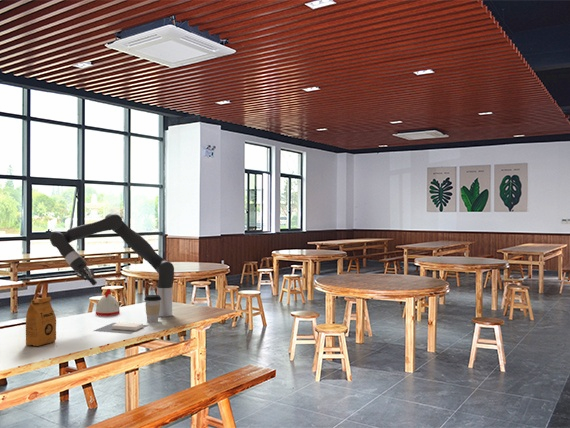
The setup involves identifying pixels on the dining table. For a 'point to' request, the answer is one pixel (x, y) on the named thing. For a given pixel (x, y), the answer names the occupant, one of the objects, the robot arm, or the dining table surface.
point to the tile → (127, 326)
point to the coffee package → (40, 323)
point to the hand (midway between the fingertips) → (95, 284)
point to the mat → (109, 329)
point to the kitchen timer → (107, 305)
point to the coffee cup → (152, 307)
